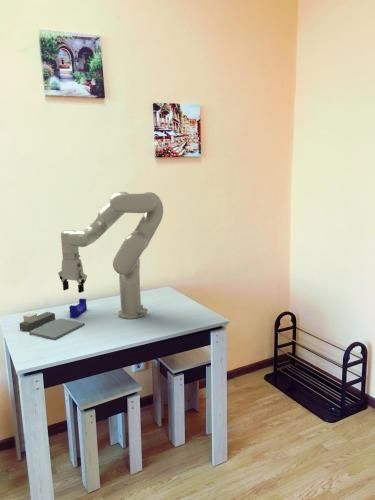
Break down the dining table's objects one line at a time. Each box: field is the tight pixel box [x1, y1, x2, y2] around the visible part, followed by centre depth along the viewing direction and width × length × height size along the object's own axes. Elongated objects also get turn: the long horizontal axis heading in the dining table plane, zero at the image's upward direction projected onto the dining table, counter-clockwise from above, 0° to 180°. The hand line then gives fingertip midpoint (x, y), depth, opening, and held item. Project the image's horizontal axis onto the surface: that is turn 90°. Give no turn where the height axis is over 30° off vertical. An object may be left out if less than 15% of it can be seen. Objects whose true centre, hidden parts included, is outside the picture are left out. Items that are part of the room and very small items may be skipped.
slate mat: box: [28, 317, 86, 341], centre depth 183 cm, size 15×18×1 cm
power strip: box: [19, 311, 56, 332], centre depth 189 cm, size 5×16×6 cm, turn 152°
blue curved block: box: [69, 298, 88, 319], centre depth 202 cm, size 12×4×6 cm, turn 169°
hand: (73, 290), depth 200 cm, fingers open, 9 cm apart
